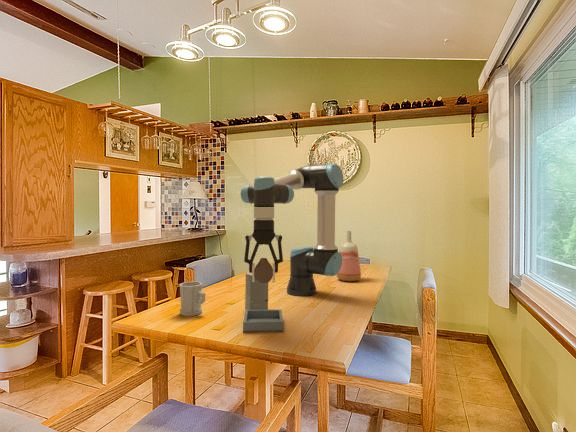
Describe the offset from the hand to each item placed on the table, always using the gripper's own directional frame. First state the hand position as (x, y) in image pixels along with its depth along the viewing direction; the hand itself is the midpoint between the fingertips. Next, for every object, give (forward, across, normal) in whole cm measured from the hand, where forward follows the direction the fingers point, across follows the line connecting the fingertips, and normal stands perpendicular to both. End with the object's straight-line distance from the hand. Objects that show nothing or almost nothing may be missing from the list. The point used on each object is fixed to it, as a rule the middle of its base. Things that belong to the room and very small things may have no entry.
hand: (263, 281), depth 123 cm
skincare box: (+17, +3, -17) cm, 24 cm away
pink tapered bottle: (+16, -50, -73) cm, 90 cm away
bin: (+16, 0, 0) cm, 16 cm away
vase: (0, 0, 0) cm, 0 cm away
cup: (+17, +29, -15) cm, 37 cm away
